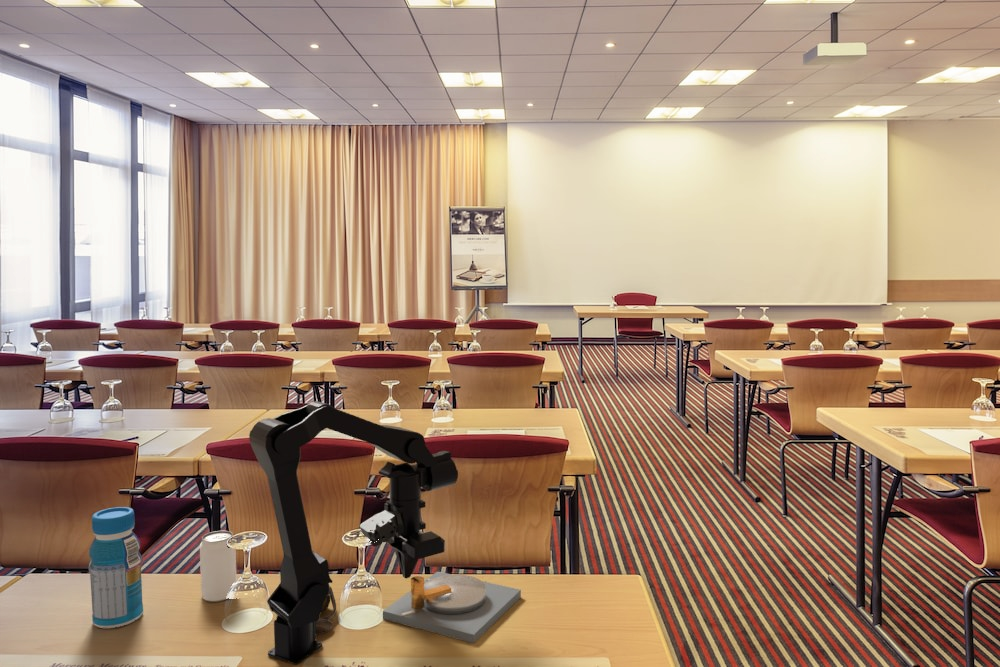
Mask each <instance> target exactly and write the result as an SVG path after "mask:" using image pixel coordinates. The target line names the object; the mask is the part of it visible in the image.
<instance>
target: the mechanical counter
mask: <svg viewBox="0 0 1000 667" xmlns="http://www.w3.org/2000/svg"><path fill="white" fill-rule="evenodd" d="M329 588H330V591H329V595H328V596H327V597H326V599H325V601H324V603H323V607H322V610H321V613H323V612H325V611H326V610H327V608H329V605H330V603H331V606H332V608H333V610H332V612H331V613H330V614H328V615H327V616H323V617H319V620H318V621H316V635H321V634H324V633H326V632H329V631H331V630H332V629H333V627H334V623H333V622H332V621H331V620H332V618H333V617H334V616H335V614H336V612H337V602H336V599H335V595H334V591H333V588H332V587H331V586H330V585H329Z"/></svg>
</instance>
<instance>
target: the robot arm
mask: <svg viewBox="0 0 1000 667" xmlns="http://www.w3.org/2000/svg"><path fill="white" fill-rule="evenodd" d="M326 429H327V430H328V429H329V430H330V431H331V430H332V431H334V432H336V433H339V434H342V435H345V436H348V437H351V438H354V439H357V440H359V441H363V442H366V443H368V444H370V445H371V446H373V447H374V448H376V449H377V450H378V451H380V452H381V453H383V454H385V455H386V456H388V457H390V458H393V459H395V460H398V461H401V462H402V463H397V464H395V463H393V462H391V461H387V462H386V463H385V465H384V466H383V467H382V468H381V469H380V470H379V471H378V475H380V476H383V477H386V478H387V479H389V500H385V502H384V504H383V505H384V510H382V511H381V512H378V513H375V514H373V515H372V516H371V517H370V518H368V519H366V520H364V521H363V522H362V523H360V524H359V529H360V531H361V533H363V534H364V535H366V536H367V537H368V538H369V539H370V541H372V542H371V543H369V542H370V541H369V542H368V543H369V544H370V545H371V546H372V547H374V548H375V547H379V546H380V545H383V544H382V543H386V544H387V545H389V546H390V547H392V548H393V550H394V553H395V556H396V560H397V562H398V565H399V567H400V568H399V569H400V572H401V574H402V577H403V578H404V579H410V578H411V576H412V574H413V571H414V569H415V567H416V565H417V564H418V561H419V560H421V559H424V558H428V557H431V556H435V555H439V554H442V553H445V552H446V540H445V539H444V538H442V536H440V535H438V534H437V533H436V532H435V533H434V532H433V531H432V530H430V531H427V532H423V530H425V529H426V528H427V527H426V526H427V523H426V522H425V521H422V509H423V508H426V501H424V500H423V499H422V490H421V489H423V490H424V491H425V492H430V491H435V490H438V489H439V490H440V489H443V488H447V487H450V486H454V485H455V484H456V483H457V481H458V479H459V478H458V477H459V470H458V469H457V466H456V463H455V460H453V459H452V453H451V452H450V451H447V450H442V451H438V452H436V453H432V452H431V450H429V449H428V447H427V445H426V441H425V437H424V435H423V434H421V433H419V432H417V431H413V430H411V429H407V428H404V427H400V426H393V425H386V424H378V423H376V422H373V421H370V420H367V419H364V418H362V417H359V416H356V415H354V414H351V413H349V412H345V411H343V410H340V409H338V408H335V407H334V406H333V405H332V404H329V403H324V402H323V401H322V402H321V401H316V400H315V401H312V402H309V403H308V404H306V405H304V406H302V407H300V408H299V407H298V408H296V409H293V410H290V411H288V412H285V413H281V414H279V415H277V416H275V417H273V418H272V417H271V418H270V417H269V418H268V417H267V418H263V419H261V420H258V422H257V423H255V424H254V426H253V427H252V428H251V430H250V431H249V435H248V436H249V437H248V438H249V442H250V445H251V449H252V451H253V453H254V455H255V457H256V459H257V461H258V463H259V465H260V466H261V468H262V470H263V472H264V473H265V475H266V477H267V481H268V486H269V490H270V495H271V500H272V505H273V509H274V515H275V519H276V523H277V529H278V534H279V537H280V542H281V548H282V552H283V557H282V560H281V565H280V570H279V572H280V576H279V577H280V583H279V584H278V586H277V587H276V588H275V589H274V591H273V592H272V594H270V596H269V597H268V598H267V601H266V602H267V605H268V607H269V609H270V611H271V612H274V614H275V615H276V619H275V620H273V631H274V632H273V634H274V636H273V637H274V638H273V639H274V640H273V642H274V647H273V648H271V649H270V650H268V651H267V655H268V656H269V657H272V658H275V659H278V660H281V661H284V662H287V663H290V664H293V665H297V664H300V663H301V662H303V661H304V660H305V659H307V658H308V657H310V656H311V655H312V654H314V653H315V652H316V651H318V650H319V649H320V648H322V647H323V642H321V641H317V640H316V639H317V634H316V621H318V620H319V618H321V617H320V616H321V610H322V607H323V603H324V601H325V599H326V597H327V596H328V595H329V591H330V588H329V586H330V584H333V579H331V577H330V573H329V571H330V570H329V562H328V560H327V559H326V558H325V557H323V556H322V555H320V554H319V553H316V552H315V551H313V549H312V542H311V538H310V532H309V528H308V522H307V519H306V514H305V508H304V503H303V498H302V492H301V489H300V483H299V478H298V468H299V464H300V460H301V457H302V455H301V454H302V453H301V452H302V451H301V447H303V446H305V445H306V444H308V443H311V442H312V441H313V440H314V439H315V438H316V437H317V436H318V435H319V434H320V433H321V432H322V431H324V430H326ZM370 530H373V531H370ZM363 534H362V535H363ZM378 539H379V540H378ZM376 541H377V542H376ZM374 542H375V543H374Z"/></svg>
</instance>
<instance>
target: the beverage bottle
mask: <svg viewBox="0 0 1000 667" xmlns="http://www.w3.org/2000/svg"><path fill="white" fill-rule="evenodd" d="M91 516H92V517H91V528H92V529H91V530H92V534H93V535H94V536H95V537H94V539H93V540H92V542H91V545H90V546H89V550H88V557H89V558H90V562H89V563H88V572H89V575H90V576H89V579H90V590H91V591H90V592H91V608H92V615H91V617H92V620H91V621H92V624H93V625H94V626H95V627H97V628H100V629H115V627H117V628H121V627H124V625H125V626H127V625H130V624H131V623H134V622H136V621H137V620H138V619H140V618H141V617H142V615H143V613H144V603H143V589H142V588H143V587H142V586H143V584H142V581H143V580H142V562H143V559H142V554H141V553H140V551H139V550H140V548H141V542H140V539H139V538H138V536H137V534H135V533H134V531H133V529H135V524H136V522H135V520H136V519H135V518H136V517H135V512H134V509H133V508H132V507H128V506H116V507H110V508H109V507H108V508H104V509H102V510H101V509H100V510H98V511H96V512H95V513H93V515H91ZM135 620H136V621H135ZM120 626H121V627H120Z"/></svg>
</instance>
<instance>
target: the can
mask: <svg viewBox="0 0 1000 667" xmlns="http://www.w3.org/2000/svg"><path fill="white" fill-rule="evenodd" d="M233 535H234V534H233V532H232V531H228V530H217V531H216V530H215V531H211V532H208V533H205V534H203V535H202V536H201V542H200V544H199V564H200V565H199V567H200V590H201V592H200V593H201V598H202V599H203V600H204V601H205V602H209V603H218V602H219V603H220V602H224V601H226V600H225V599H226V596H227V593H228V591H229V589H230V587H231V586H232V584H233V583H234V582H236V581H237V580H238V579H237V557H236V556H237V555H236V554H237V553H236V548H235V549H232V548H228V547H227V545H226V542H227V540H228V539H229V538H230V537H233ZM233 538H234V537H233Z"/></svg>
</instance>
